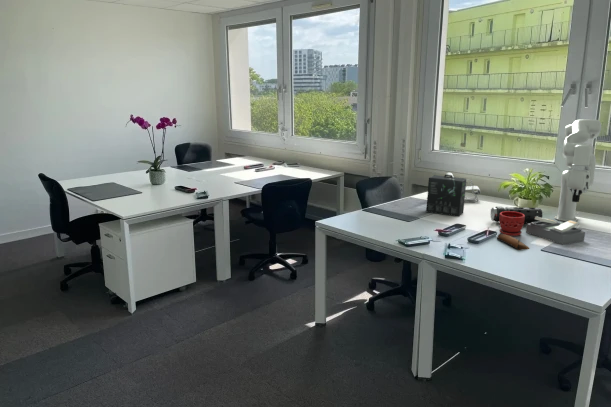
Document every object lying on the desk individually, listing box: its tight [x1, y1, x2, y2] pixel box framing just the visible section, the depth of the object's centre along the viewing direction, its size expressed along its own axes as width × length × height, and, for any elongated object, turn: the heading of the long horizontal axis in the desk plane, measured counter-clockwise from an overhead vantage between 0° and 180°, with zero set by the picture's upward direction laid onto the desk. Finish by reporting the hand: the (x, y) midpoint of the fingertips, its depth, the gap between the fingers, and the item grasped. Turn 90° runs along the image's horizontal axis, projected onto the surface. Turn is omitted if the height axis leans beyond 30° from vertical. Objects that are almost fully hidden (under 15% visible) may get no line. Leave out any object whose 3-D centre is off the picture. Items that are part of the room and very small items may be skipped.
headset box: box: [425, 173, 467, 218], centre depth 302 cm, size 22×12×26 cm, turn 58°
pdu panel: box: [525, 221, 586, 246], centre depth 255 cm, size 16×28×6 cm, turn 21°
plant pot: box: [498, 211, 525, 237], centre depth 257 cm, size 13×13×12 cm
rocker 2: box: [554, 220, 579, 232], centre depth 246 cm, size 12×5×2 cm, turn 111°
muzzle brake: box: [490, 206, 543, 224], centre depth 279 cm, size 10×28×10 cm, turn 85°
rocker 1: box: [535, 216, 558, 224], centre depth 258 cm, size 12×5×2 cm, turn 112°
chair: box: [445, 172, 481, 203], centre depth 340 cm, size 13×25×20 cm, turn 74°
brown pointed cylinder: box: [496, 233, 531, 251], centre depth 241 cm, size 18×7×7 cm
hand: (575, 201), depth 244 cm, fingers closed
